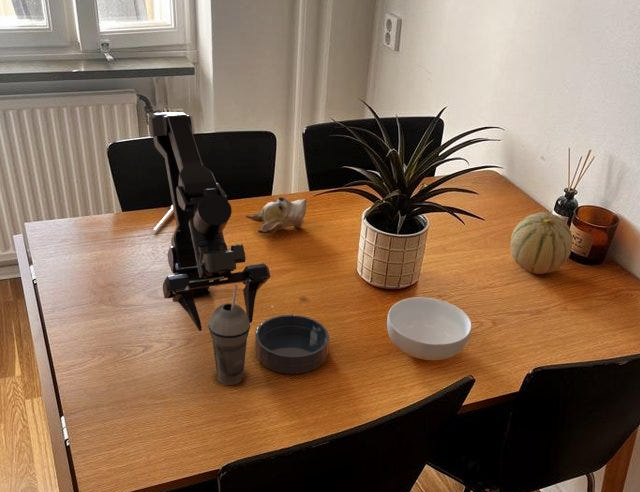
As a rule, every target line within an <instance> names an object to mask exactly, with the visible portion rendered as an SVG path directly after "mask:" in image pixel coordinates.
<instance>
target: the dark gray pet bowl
mask: <svg viewBox="0 0 640 492" xmlns="http://www.w3.org/2000/svg"><path fill="white" fill-rule="evenodd" d="M254 341H255V342H254V350H255V357H256V358H257V360H258V362H259V363H260V364H261V365H263V366H264V367H265V368H267V369H269V370H272V371H274V372H277V373H281V374H287V375H298V374H305V373H308V372H311V371H314V370H316V369H318V368H320V367H321V366H322V365H323V364H324V363H325V362H326V361H327V358H328V355H329V347H330V346H329V345H330V335H329V331H328V329H327V328H326V327H325V326H324V324H322V323H320V322H319V321H317V320H316V319H313V318H311V317H308V316H304V315H298V314H282V315H277V316H273V317H271V318H268V319H266V320H264V321H262V323H260V324H259V326H257V329H256V331H255V335H254Z"/></svg>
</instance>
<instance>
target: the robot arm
mask: <svg viewBox="0 0 640 492" xmlns="http://www.w3.org/2000/svg"><path fill="white" fill-rule="evenodd" d="M147 123H148V124H147V125H148V131H149V136H150V138H152V139H153V143H154V147H155V149H156V150H157V151H158V152H159V153H160V154H161V155H162V157H163V158H164V162H165V168H166V173H167V180H168V184H169V191H170V197H171V203H172V204H171V205H173V210H174V212H173V215H174V221H175V229H174V231H173V234H172V236H171V239H170V243H171V246H169V248H168V251H167V254H166V255H167V262H168V263H167V264H168V266H169V268H170V270H171V273H172V275H167V276H166V277H165V279H164V281H163V284H162V293H163V297H164V299H172V302H173V303H178V304H179V305H180V306H181V307H182V308H183V310H184V311H185V312H186V314H187V315H188V316H189V318H190V320H191V321H192V322H193V324H194V326H195V327H196V329H197V331H198V332H202V331H203V327H202V321H201V317H200V315H199V311H198V309H197V305H196V302H195V299H197V298H200V297H201V298H202V297H206V296H210V295H211V291H210V290H209V289H210V287H218V286H224V285H231V284H239V283H242V284H243V285H244V288H242V293H243V298H244V299H243V300H244V306H245V312H246V314H247V316H248V319H249V323H250V324H251V323H252V322H253V320H254V319H253V318H254V311H255V301H256V297H257V292H258V290H260V288H262V286H263V285H265V284H266V283H267V281H269V279H270V278H271V272H270V268H269V266H268V265H267V264H266V263H257V264H256V263H255V264H249V265H246V266H245V267H244V268H243V270H242V271H238V272H234V271H235V270H237V264H241V263H242V264H243V263H246V260H247V259H246V252H245V248H244V244H243V243H239V244H231V245H230V250H229V249H228V245H227V243H226V241H225V236H224V230H225V228H226V226H227V224H228V222H229V220H230V218H231V217H232V212H233V211H232V205H231V204H230V203H229V196H228V194H226V192H225V191H224V190H223V188H222V186H221V185H220V183H219V182H217V181H216V178H215V176H214V173H213V171H212V170H210V169H208V168H207V167H206V166H204V163H203V161H202V158H201V155H200V152H199V149H198V145H197V142H196V140H195V137H194V135H195V126H194V117H193V115H189V114H186V113H185V112H183V111H179V112H177V111H176V112H155V113H153V115H152V117H151V118H149V119H148V122H147ZM173 274H174V275H173Z"/></svg>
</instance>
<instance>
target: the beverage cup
mask: <svg viewBox="0 0 640 492" xmlns="http://www.w3.org/2000/svg"><path fill="white" fill-rule="evenodd" d="M237 291H238V283H234V285H233V294H232V300H231V303H223V304H221V305H219V306H217V307H216V308H215V309H214V310H213V312H212V313H211V315H210V318H209V321H208V322H209V323H208V330H209V334H210V338H211V340H212V347H213V354H214V362H215V371H216V375H217V381H218V382H219V383H221V384H222V385H225V386H234V385H237V384H239V383H240V382H242V380H243V375H244V371H245V361H246V352H247V342H248V337H249V332H250V329H251V323H249V319H248V316H247V313H246V310H244V308H243V307H241V306H240V305H238V304H236V301H237V300H236V299H237V293H238V292H237Z"/></svg>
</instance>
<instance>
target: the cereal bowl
mask: <svg viewBox="0 0 640 492" xmlns="http://www.w3.org/2000/svg"><path fill="white" fill-rule="evenodd" d="M472 327H473V326H472V321H471V318H470V317H469V316H468V314H467V313H466V312H465V311H464V310H462V309H461V308H460V307H458V306H456V305H455V304H453V303H451V302H448V301H445V300H442V299H438V298H434V297H427V296H426V297H425V296H415V297H407V298H404V299H401V300H399V301H397V302H396V303H394V304H393V305H392V306H391V307H390V309H389V311H388V312H387V319H386V330H387V333H388V337H389V339H390V340H391V342H392V343H393V345H395V346H396V348H397V349H398V350H400V351H401V352H402V353H404V354H406V355H408V356H410V357H413V358H416V359H418V360H425V361H443V360H447V359H450V358H452V357H454V356H456V355H458V354H459V353H461V352H462V350H464V348H465V347H466V346H467V344H468V342H469V340H470V336H471V334H472V330H473V329H472Z"/></svg>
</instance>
